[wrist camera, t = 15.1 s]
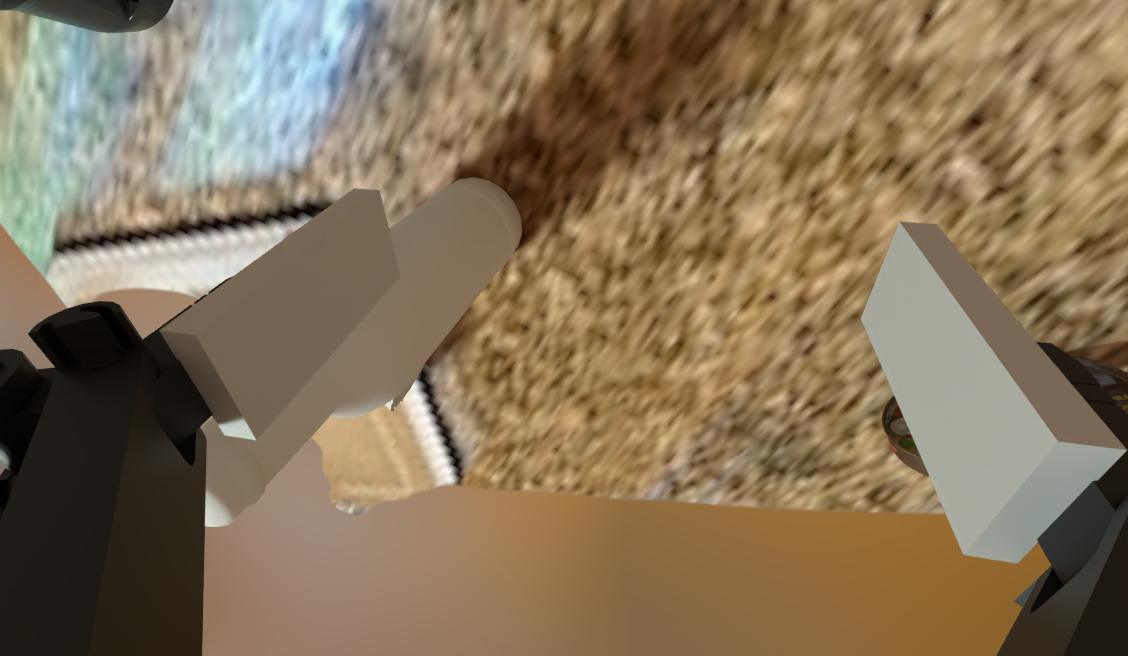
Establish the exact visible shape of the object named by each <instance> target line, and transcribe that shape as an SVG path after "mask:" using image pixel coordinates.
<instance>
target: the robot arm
mask: <svg viewBox="0 0 1128 656" xmlns="http://www.w3.org/2000/svg"><path fill="white" fill-rule="evenodd" d="M170 3H171V0H0V10H16V11H19V12H23V13H27V14H31V15H35V16H38V17H42V18H46V19H50V20H54V21H57V22H61V23H65V24H69V25H73V26H76V27H80V28H84V29H88V30H92V31H97V32H105V33H120V32H135V31H142V30H145V29H148V28H150V27H152V26H154V25H155V24H156V23H158V22H159V21H160V20H161V19H162V18H163V16H164V15H165V13H166V12H167V10H168V8H169V6H170ZM400 276H401V275H400V271H399V267H398V263H397V259H396V255H395V251H394V247H393V243H392V239H391V235H390V231H389V227H388V223H387V219H386V215H385V211H384V207H383V203H382V199H381V195H380V191H379V190H369V189H353V190H352V191H350V192H349V193H347V194H346V195H345V196H343V197H342V198H341V199H339V200H338V201H336V202H335V203H334V204H332V205H331V206H330V207H328V208H327V209H325V210H324V211H323V212H321V213H320V214H319V215H317V216H316V217H314V218H313V219H312V220H310V221H309V222H308V223H306V224H305V225H303V226H302V227H301V228H299V229H298V230H297V231H295V232H294V233H292V234H291V235H290V236H288V237H287V238H286V239H284V240H283V241H281V242H280V243H279V244H277V245H276V246H275V247H273V248H272V249H270V250H269V251H268V252H266V253H265V254H264V255H262V256H261V257H259V258H258V259H257V260H255V261H254V262H253V263H251V264H250V265H248V266H247V267H246V268H244V269H243V270H242V271H240V272H239V273H237V274H236V275H235V276H233V277H230V278H228V279H226V280H225V281H223V282H222V283H220V284H219V285H218V286H216V287H215V288H214V289H212V290H211V291H209V294H208V295H204V296H202V297H201V298H200V299H198V300H197V301H196V302H194V305H190V306H189V307H187V308H186V309H185V310H183V311H182V312H180V313H179V314H178V315H176V316H175V317H174V318H172V319H171V320H169V321H168V322H167V323H165V324H164V325H162V326H161V327H160V328H158V329H157V330H155V331H154V332H153V333H151V334H150V335H149V336H147V337H146V338H144V339H143V340H142V338H141V337H140V335H139V334H138V332H137V331H136V329H135V327H134V326H133V324H132V323H131V321H130V320H129V318H128V317H127V315H126V314H125V313H124V311H123V309H122V308H121V306H120V305H118V304H116V303H114V302H105V301H104V302H103V301H98V302H92V303H86V304H81V305H78V306H74V307H71V308H68V309H65V310H63V311H60V312H58V313H56V314H54V315H52V316H49V317H48V318H46V319H44V320H43V321H42V322H40V323H38V324H37V325H36V326H35V327H34V328H33V329H32V330H31V331H30V332H29V333H28V334H29V336H30V337H31V338H32V339H33V341H34V342H35V343H36V344H37V346H38V347H39V348H40V349H41V351H42V352H43V353H44V354H45V355H46V357H47V358H48V359H49V360H50V361H51V363H52V364H53V365H54V366H55V368H46V369H36V367H35V366H34V365H33V364H32V363H31V362H30V360H29V359H28V358H27V357H26V356H25V354H24V353H23V352H22V351H18V350H14V349H5V350H0V463H1V464H2V465H3V466H4V467H5V468H6V469H5V470H4V471H3V473H2V474H1V475H0V656H202V633H203V588H204V544H205V543H204V541H205V499H206V455H207V440H206V437H205V434H204V432H203V431H202V429H201V428H200V426H201V425H202V424H203V423H204V422H205V421H206V420H207V419H208V418H209V417H210V416H213V418H214V419H215V421H216V422H217V424H218V426H219V427H220V429H221V430H222V432H223V434H224V435H226V436H232V437H238V438H245V439H251V440H257V439H258V438H259V437H260V436H261V435H262V433H263V432H264V431H265V430H266V429H267V428H268V427H269V426H270V424H271V423H272V422H273V421H274V420H275V419H276V418H277V416H278V415H279V414H280V413H281V412H282V411H283V410H284V408H285V407H286V406H287V405H288V404H289V403H290V402H291V400H292V399H293V398H294V397H295V396H296V395H297V394H298V393H299V391H300V390H301V389H302V388H303V387H304V386H305V385H306V383H307V382H308V381H309V380H310V379H311V378H312V377H313V375H314V374H315V373H316V372H317V371H318V370H319V369H320V367H321V366H322V365H323V364H324V363H325V362H326V361H327V360H328V358H329V357H330V356H331V355H332V354H333V353H334V352H335V350H336V349H337V348H338V347H339V346H340V345H341V344H342V342H343V341H344V340H345V339H346V338H347V337H348V336H349V334H350V333H351V332H352V331H353V330H354V329H355V328H356V326H357V325H358V324H359V323H360V322H361V321H362V320H363V319H364V317H365V316H366V315H367V314H368V313H369V312H370V311H371V309H372V308H373V307H374V306H375V305H376V304H377V303H378V301H379V300H380V299H381V298H382V297H383V296H384V295H385V293H386V292H387V291H388V290H389V289H390V288H391V287H392V286H393V284H394V283H395V282H396V281H397V280H398V279H399V278H400ZM861 320H862V322H863V325H864V327H865V329H866V331H867V334H868V336H869V338H870V341H871V343H872V345H873V348H874V350H875V352H876V354H877V357H878V359H879V361H880V364H881V366H882V368H883V371H884V373H885V375H886V377H887V380H888V382H889V384H890V387H891V389H892V391H893V394H894V396H895V398H896V400H897V403H898V405H899V407H900V410H901V412H902V414H903V417H904V419H905V421H906V423H907V426H908V428H909V430H910V433H911V435H912V437H913V440H914V442H915V444H916V446H917V449H918V451H919V453H920V456H921V458H922V460H923V463H924V465H925V467H926V469H927V472H928V474H929V476H930V479H931V481H932V483H933V486H934V488H935V490H936V492H937V495H938V497H939V499H940V502H941V504H942V506H943V509H944V511H945V513H946V515H947V518H948V520H949V522H950V525H951V527H952V529H953V532H954V534H955V536H956V538H957V541H958V543H959V545H960V548H961V550H962V552H963V555H968V556H974V557H981V558H987V559H993V560H999V561H1005V562H1011V563H1018V562H1019V561H1020V560H1021V559H1022V558H1023V557H1024V556H1025V555H1026V554H1027V553H1028V552H1029V551H1030V550H1031V549H1032V548H1033V546H1034V545H1035V544H1036V543H1037V542H1039V544H1040V546H1041V548H1042V549H1043V551H1044V553H1045V555H1046V556H1047V558H1048V560H1049V562H1050V563H1051V565H1052V566H1051V567H1050V568H1049V569H1048V570H1046V571H1045V572H1044V573H1043V574H1042V575H1041V576H1040V577H1039V578H1038V579H1037V580H1036V581H1035V582H1034V583H1033V584H1032V585H1031V586H1030V587H1029V588H1028V589H1026V590H1025V591H1024V592H1023V593H1022V594H1021V595H1020V596H1019V597H1018V598H1017V599H1016V600H1015V601H1014V602H1016V603H1017V604H1019V605H1020V606H1021V607H1023V608H1022V610H1021V612H1020V613H1019V616H1018V617H1017V619H1016V621H1015V623H1014V625H1013V626H1012V628H1011V630H1010V632H1009V634H1008V635H1007V637H1006V639H1005V641H1004V643H1003V645H1002V647H1001V648H1000V651H999V652H998V654H997V656H1128V414H1127V413H1126V412H1125V411H1124V410H1123V408H1122V407H1117V406H1116V404H1117V402H1116V401H1115V400H1114V399H1113V397H1112V396H1111V395H1110V394H1109V393H1108V392H1107V391H1106V390H1105V389H1101V388H1100V385H1101V384H1100V383H1099V382H1098V381H1097V380H1096V379H1095V378H1094V377H1093V375H1092V374H1091V373H1090V372H1089V371H1088V370H1087V369H1086V368H1085V367H1084V366H1083V364H1082V363H1080V362H1079V361H1077V360H1076V359H1074V358H1073V357H1071V356H1070V355H1068V354H1067V353H1065V352H1064V351H1062V350H1061V349H1059V348H1058V347H1056V346H1054V345H1053V344H1051V343H1040V342H1035V340H1034V339H1033V338H1032V337H1031V336H1030V334H1029V333H1028V332H1027V331H1026V330H1025V329H1024V327H1023V326H1022V325H1021V324H1020V323H1019V321H1018V320H1017V319H1016V318H1015V317H1014V316H1013V314H1012V313H1011V312H1010V311H1009V310H1008V308H1007V307H1006V306H1005V305H1004V304H1003V302H1002V301H1001V300H1000V299H999V298H998V297H997V295H996V294H995V293H994V292H993V291H992V289H991V288H990V287H989V286H988V285H987V284H986V282H985V281H984V280H983V279H982V278H981V276H980V275H979V274H978V273H977V272H976V271H975V269H974V268H973V267H972V266H971V265H970V263H969V262H968V261H967V260H966V259H965V257H964V256H963V255H962V254H961V253H960V252H959V250H958V249H957V248H956V247H955V246H954V244H953V243H952V242H951V241H950V240H949V239H948V237H947V236H946V235H945V234H944V233H943V231H942V230H941V229H940V228H939V227H938V226H937V224H926V223H910V222H899V225H898V227H897V230H896V232H895V235H894V237H893V240H892V242H891V245H890V247H889V250H888V252H887V255H886V257H885V260H884V262H883V265H882V267H881V270H880V272H879V275H878V277H877V280H876V282H875V285H874V287H873V290H872V292H871V295H870V297H869V300H868V302H867V305H866V307H865V310H864V312H863V315H862V317H861Z"/></svg>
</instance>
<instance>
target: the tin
mask: <svg viewBox="0 0 1128 656" xmlns="http://www.w3.org/2000/svg"><path fill="white" fill-rule="evenodd" d="M1073 358H1074V359H1076V360H1077V361H1079V362H1080V363H1082V364H1083V366H1084V367H1085V368H1086V369H1087V370H1088V371H1089V372H1090V373H1091V374H1092V375H1093V377H1094V378H1095V379H1096V380H1097V381H1098V382H1099V383H1100V384H1101V385H1100V388H1101V389H1105V390H1106V391H1107V392H1108V393H1109V394H1110V395H1111V396H1112V397H1113V399H1114V400H1115V401H1116V402H1117V404H1116V406H1117V407H1122V408H1123V410H1124V411H1125V412H1126V413H1127V414H1128V373H1126V372H1124V371H1123V370H1121V369H1118V368H1116V367H1114V366H1111V365H1108V364H1105V363H1102V362H1099V361H1095V360H1090V359H1085V358H1079V357H1073ZM882 425H883V428H884V431H885V433H886V435H887V436H888V440H889V443H890V445H891V447H892V449H893V451H894V452H895V454H896V455H897V456H898V458H899V459H900V460H901V461H902V462H903V463H905V464H906V465H907V466H909V467H910V468H912V469H913V470H915V471H917V472H919V473H922V474H924V475H927V476H929V474H928V472H927V469H926V467H925V465H924V463H923V460H922V458H921V456H920V453H919V451H918V449H917V446H916V444H915V442H914V440H913V437H912V435H911V433H910V430H909V428H908V426H907V423H906V421H905V419H904V417H903V414H902V412H901V410H900V407H899V405H898V403H897V400H896V398H895V396H893V397H892V398H891V399H890V400H889V402H888V403H887V404H886V406H885V408H884V411H883V414H882Z"/></svg>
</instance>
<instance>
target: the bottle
mask: <svg viewBox="0 0 1128 656" xmlns="http://www.w3.org/2000/svg"><path fill="white" fill-rule="evenodd" d="M389 231H390V235H391V239H392V243H393V247H394V251H395V255H396V259H397V263H398V267H399V271H400V275H401V276H400V278H399V279H398V280H397V281H396V282H395V283H394V284H393V286H392V287H391V288H390V289H389V290H388V291H387V292H386V293H385V295H384V296H383V297H382V298H381V299H380V300H379V301H378V303H377V304H376V305H375V306H374V307H373V308H372V309H371V311H370V312H369V313H368V314H367V315H366V316H365V317H364V319H363V320H362V321H361V322H360V323H359V324H358V325H357V326H356V328H355V329H354V330H353V331H352V332H351V333H350V334H349V336H348V337H347V338H346V339H345V340H344V341H343V342H342V344H341V345H340V346H339V347H338V348H337V349H336V350H335V352H334V353H333V354H332V355H331V356H330V357H329V358H328V360H327V361H326V362H325V363H324V364H323V365H322V366H321V367H320V369H319V370H318V371H317V372H316V373H315V374H314V375H313V377H312V378H311V379H310V380H309V381H308V382H307V383H306V385H305V386H304V387H303V388H302V389H301V390H300V391H299V393H298V394H297V395H296V396H295V397H294V398H293V399H292V400H291V402H290V403H289V404H288V405H287V406H286V407H285V408H284V410H283V411H282V412H281V413H280V414H279V415H278V416H277V418H276V419H275V420H274V421H273V422H272V423H271V424H270V426H269V427H268V428H267V429H266V430H265V431H264V432H263V433H262V435H261V436H260V437H259V438H258V439H257V440H251V439H245V438H238V437H232V436H226V435H224V434H223V432H222V430H221V429H220V427H219V426H218V424H217V422H216V421H215V419H214V418H212V419H211V420H210V421H209V422H207V423H206V424H205V425H204V426H203V427H202V428H201V429H202V431H203V432H204V434H205V437H206V440H207V455H206V499H205V526H210V527H218V526H225V525H228V524H232V522H233V521H234V520H235V519H236V518H237V517H238V516H239V515H240V514H241V512H242V511H243V510H245V509H246V508H248V507H250V506H252V505H254V504H255V503H256V502H257V500H259V498H260V497H261V495H262V494H263V493H264V490H265V488H266V485H267V484H268V483H269V482H270V481H271V480H272V479H273V478H274V477H275V476H276V475H277V473H278V472H279V471H280V470H281V469H282V468H283V467H284V466H285V465H286V463H288V461H289V460H290V459H291V458H292V457H293V456H294V455H295V454H296V453H297V452H298V451H299V450H300V448H301V447H302V446H303V445H304V444H305V443H306V442H307V441H308V440H309V439H310V438H311V436H312V435H313V434H314V433H315V432H316V431H317V430H318V429H319V428H320V427H321V426H322V424H323V423H324V422H325V421H326V420H327V419H328V418H329V417H353V418H357V417H359V416H362V415H364V414H367V413H369V412H371V411H373V410H375V409H377V408H379V407H381V406H383V405H385V404H387V403H388V402H390V401H391V400H393V399H395V398H396V397H398V396H399V395H400V394H401V392H402V391H403V390H404V389H405V387H406V386H407V385H408V384H409V382H410V381H411V380H412V379H413V377H414V376H415V375H416V374H417V372H418V371H419V370H420V369H421V367H422V366H423V365H424V364H425V362H426V361H427V360H428V359H429V357H430V356H431V355H432V354H433V352H434V351H435V350H436V348H437V347H438V346H439V345H440V343H441V342H442V341H443V340H444V338H445V337H446V336H447V335H448V333H449V332H450V331H451V330H452V328H453V327H454V326H455V325H456V323H457V322H458V321H459V320H460V318H461V317H462V316H463V315H464V313H465V312H466V311H467V310H468V308H469V307H470V306H471V305H472V303H473V302H474V301H475V300H476V298H477V297H478V296H479V294H480V293H481V292H482V291H483V289H484V288H485V287H486V286H487V284H488V283H489V282H490V281H491V279H492V278H493V277H494V276H495V274H496V273H497V272H499V271H500V270H501V269H502V268H503V266H504V265H505V264H506V263H507V261H508V260H509V259H510V258H511V256H512V255H513V254H514V252H515V249H516V248H517V247H518V246H519V242H520V238H521V235H522V223H521V216H520V214H519V211H518V209H517V207H516V205H515V202H514V201H513V200H512V199H511V198H510V197H509V195H508V194H507V193H506V192H505V191H504V190H503V189H502V188H500V187H499V186H497V185H495V184H494V183H492V182H490V181H489V180H484V179H480V178H475V177H470V178H464V179H459V180H457V181H455V182H454V183H451V184H449V185H448V186H446V187H445V188H443V189H442V190H440V191H439V192H437V193H436V194H434V195H433V196H432V197H431V198H430V199H429V200H428V201H427V202H426V203H424V204H423V205H421V206H420V207H419V208H417V209H416V210H414V211H413V212H412V213H410V214H409V215H407V216H406V217H405V218H403V219H402V220H400V221H399V222H398V223H396V224H395V225H394V226H392V227H391V228H389Z"/></svg>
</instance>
